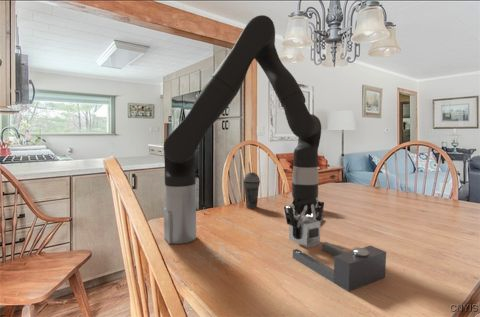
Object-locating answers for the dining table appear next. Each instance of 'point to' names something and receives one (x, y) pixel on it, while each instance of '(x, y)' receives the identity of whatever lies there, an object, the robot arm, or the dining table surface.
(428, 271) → the dining table surface
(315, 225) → the block
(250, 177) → the beverage cup
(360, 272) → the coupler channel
